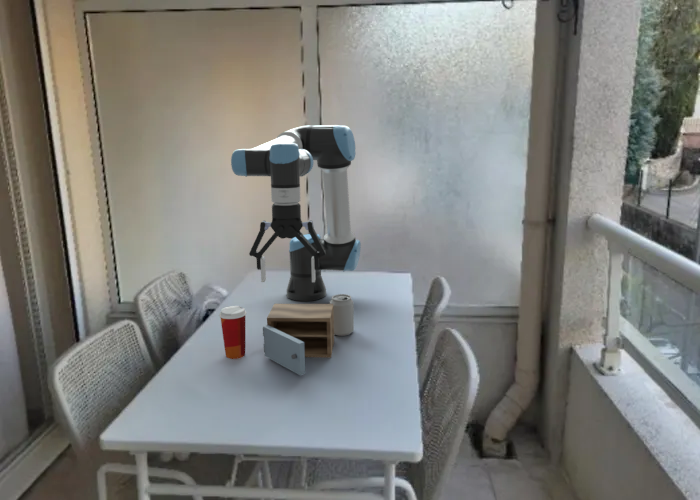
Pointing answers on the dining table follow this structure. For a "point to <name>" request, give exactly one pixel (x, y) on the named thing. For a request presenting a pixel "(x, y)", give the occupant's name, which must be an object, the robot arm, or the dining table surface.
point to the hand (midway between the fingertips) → (288, 281)
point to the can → (343, 314)
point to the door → (284, 349)
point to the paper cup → (233, 331)
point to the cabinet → (306, 326)
